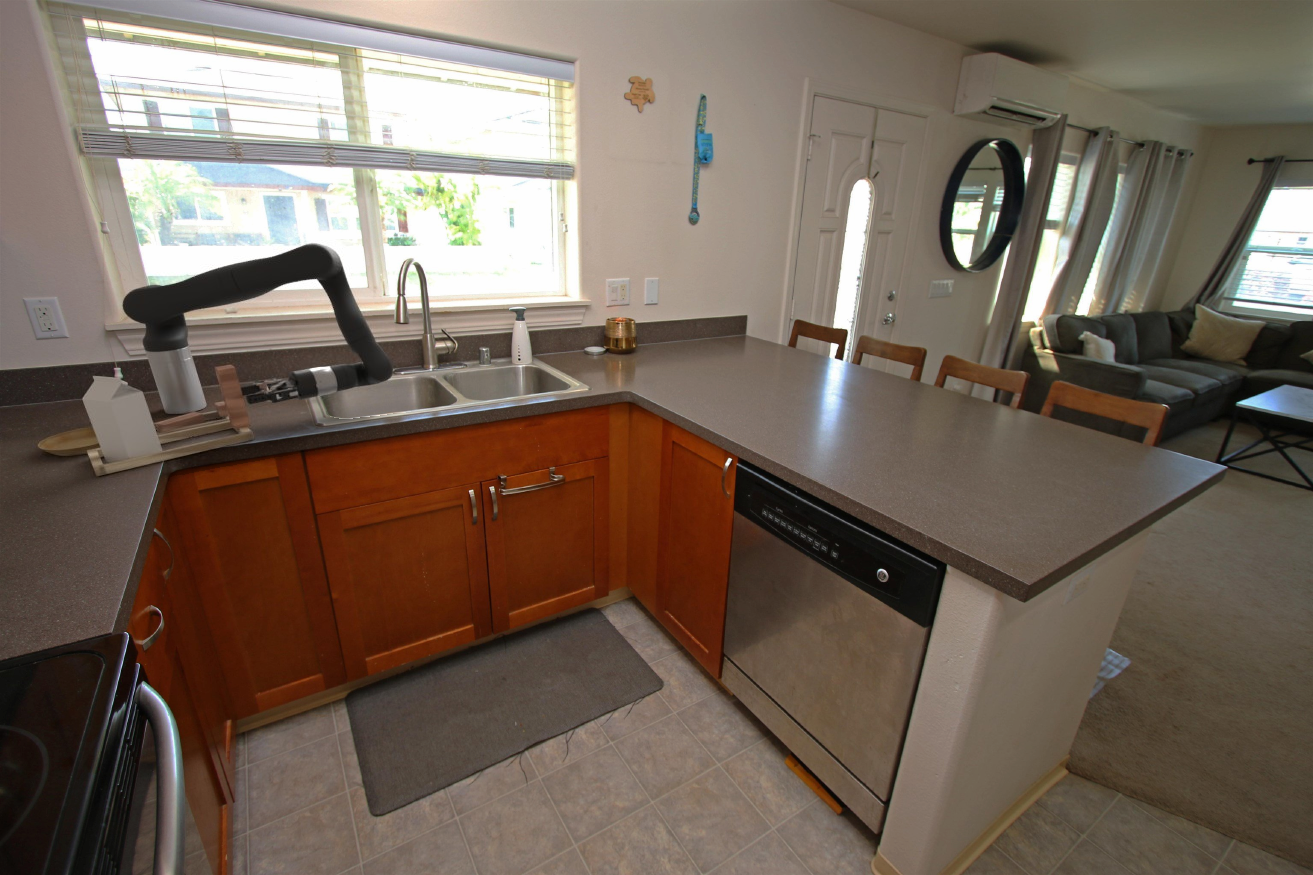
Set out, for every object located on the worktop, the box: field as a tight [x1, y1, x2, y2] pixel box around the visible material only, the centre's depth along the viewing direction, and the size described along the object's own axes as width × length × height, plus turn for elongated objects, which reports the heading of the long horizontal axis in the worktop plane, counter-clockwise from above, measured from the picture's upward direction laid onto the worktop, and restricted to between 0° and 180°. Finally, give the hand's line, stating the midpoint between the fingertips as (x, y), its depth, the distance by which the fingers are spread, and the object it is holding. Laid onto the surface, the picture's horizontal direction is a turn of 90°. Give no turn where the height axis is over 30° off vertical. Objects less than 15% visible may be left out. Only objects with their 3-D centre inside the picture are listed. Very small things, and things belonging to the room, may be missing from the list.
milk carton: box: [82, 375, 163, 464], centre depth 128 cm, size 7×7×19 cm
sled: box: [86, 364, 255, 477], centre depth 133 cm, size 13×30×17 cm, turn 137°
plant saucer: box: [37, 426, 101, 457], centre depth 137 cm, size 15×15×3 cm
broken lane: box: [153, 400, 229, 435], centre depth 147 cm, size 10×21×5 cm, turn 137°
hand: (242, 395), depth 143 cm, fingers open, 8 cm apart
